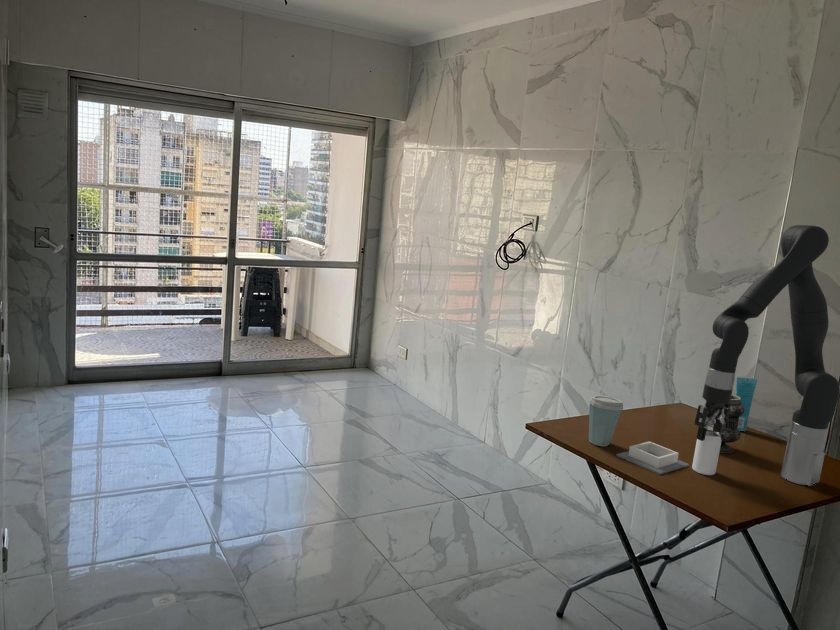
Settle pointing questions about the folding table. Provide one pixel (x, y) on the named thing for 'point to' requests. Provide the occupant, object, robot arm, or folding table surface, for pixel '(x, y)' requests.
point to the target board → (653, 458)
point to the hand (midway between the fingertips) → (708, 437)
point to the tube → (745, 398)
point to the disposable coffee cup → (603, 419)
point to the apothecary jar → (730, 425)
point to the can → (707, 453)
